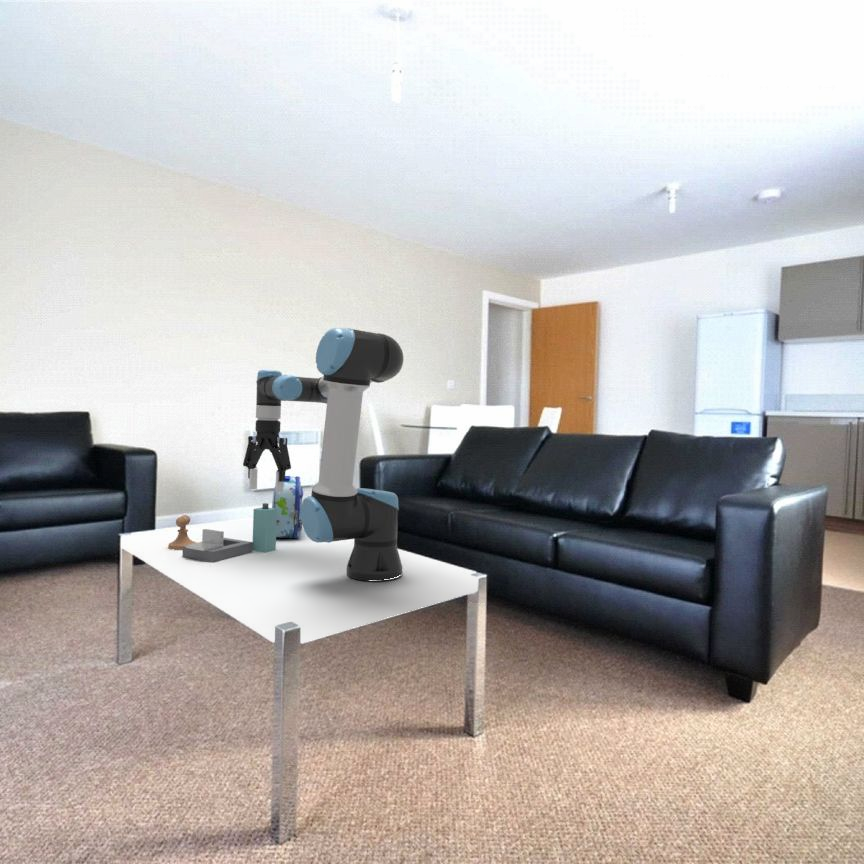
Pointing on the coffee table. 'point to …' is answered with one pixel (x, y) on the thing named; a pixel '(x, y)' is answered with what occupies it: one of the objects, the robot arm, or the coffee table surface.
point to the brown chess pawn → (181, 534)
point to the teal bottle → (264, 528)
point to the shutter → (208, 540)
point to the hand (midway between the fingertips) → (265, 490)
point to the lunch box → (288, 508)
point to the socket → (220, 551)
